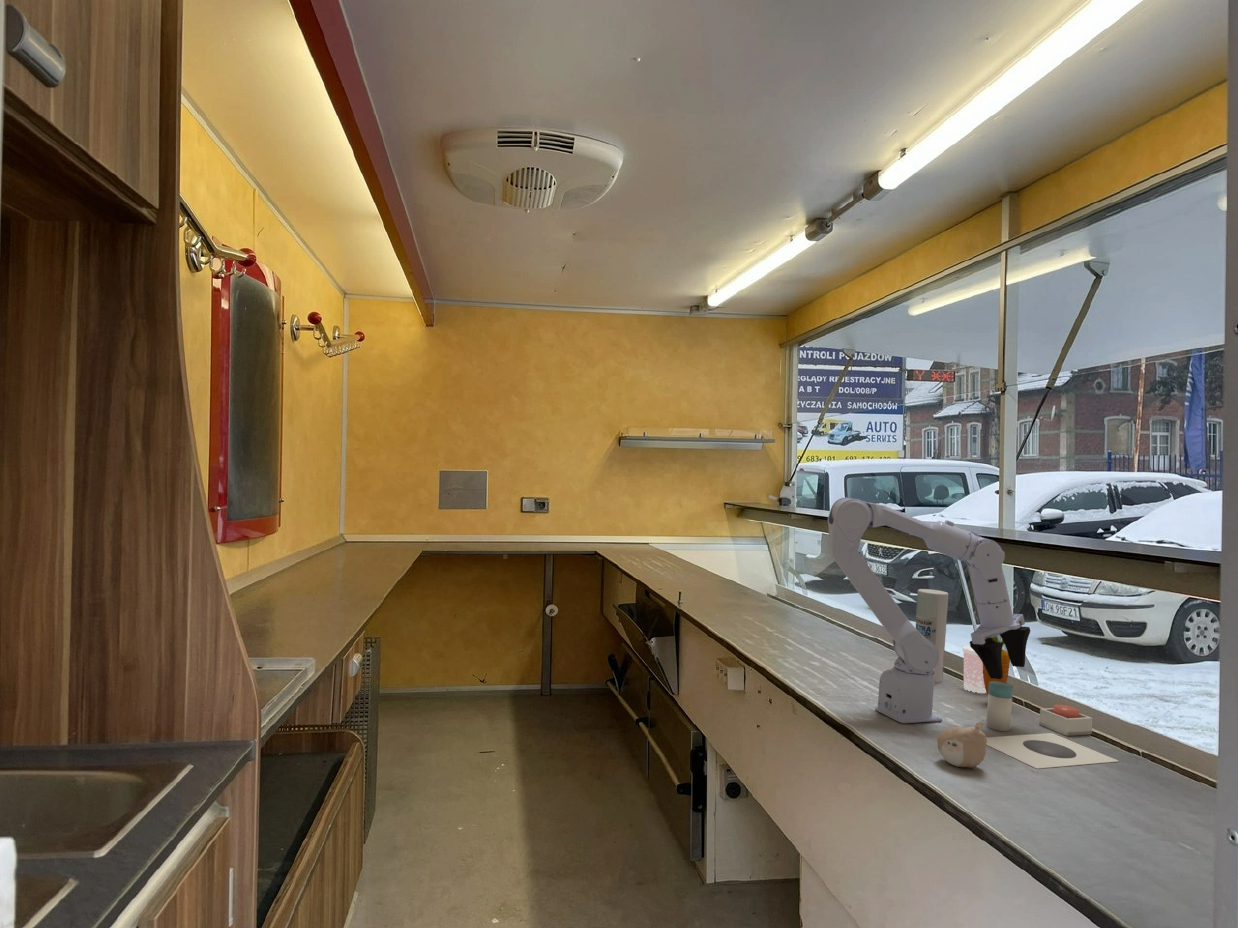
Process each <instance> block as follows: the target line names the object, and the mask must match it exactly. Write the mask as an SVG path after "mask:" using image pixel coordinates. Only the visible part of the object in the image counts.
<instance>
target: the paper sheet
mask: <svg viewBox="0 0 1238 928" xmlns="http://www.w3.org/2000/svg"><path fill="white" fill-rule="evenodd" d="M986 739H987V743H986V746H988V747H990V748H992V749H994V750H997V751H998V752H1000V753H1003V754H1004V755H1007V756H1009V757H1011V758H1012V759H1015V760H1018V761H1020V762H1021V763H1024V764H1025V765H1028V766H1030V767H1031V768H1034V769H1036V770H1040V769H1042V770H1043V769H1050V768H1051V769H1053V768H1063V767H1074V766H1082V765H1083V766H1084V765H1085V766H1086V765H1096V764H1107V763H1116V762H1117V763H1118V762H1120V760H1117V759H1116V758H1113V757H1110V756H1108V755H1105V754H1104V753H1100V752H1099V751H1096V750H1093V749H1092V748H1089V747H1087V746H1084V745H1081V744H1079V743H1076V742H1074V741H1072V740H1069V739H1067V738H1065V737H1062V736H1059V735H1057V734H1055V733H1053V732H1047V733H1033V734H1032V733H1030V734H1017V735H1005V736H1004V735H1003V736H990V737H989V736H988V737H986Z"/></svg>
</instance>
